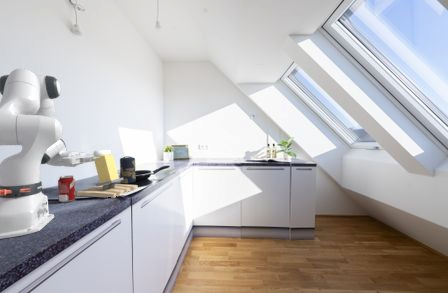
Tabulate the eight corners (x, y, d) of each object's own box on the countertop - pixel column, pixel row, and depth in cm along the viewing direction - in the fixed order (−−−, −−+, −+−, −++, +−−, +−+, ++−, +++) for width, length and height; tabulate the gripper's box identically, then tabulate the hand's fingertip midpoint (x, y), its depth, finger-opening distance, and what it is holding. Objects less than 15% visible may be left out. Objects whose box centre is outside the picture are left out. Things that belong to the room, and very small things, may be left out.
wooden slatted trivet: (113, 197, 119) (113, 189, 119) (76, 195, 124) (76, 187, 123) (137, 188, 141) (137, 181, 141) (105, 186, 145) (105, 180, 145)
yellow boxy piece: (112, 182, 126) (103, 148, 126) (95, 186, 128) (87, 153, 128) (123, 179, 136) (115, 147, 136) (108, 183, 138) (100, 151, 138)
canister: (132, 184, 153) (131, 156, 152) (117, 184, 153) (117, 156, 152) (137, 181, 163) (137, 155, 162) (124, 181, 163) (123, 155, 162)
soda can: (67, 203, 109) (66, 177, 109) (54, 202, 111) (54, 177, 110) (78, 199, 116) (78, 175, 115) (67, 199, 117) (66, 175, 117)
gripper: (55, 155, 126) (77, 156, 123) (84, 152, 146) (104, 152, 143) (55, 167, 126) (78, 168, 124) (85, 162, 146) (104, 163, 144)
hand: (92, 159), depth 134 cm, fingers closed
